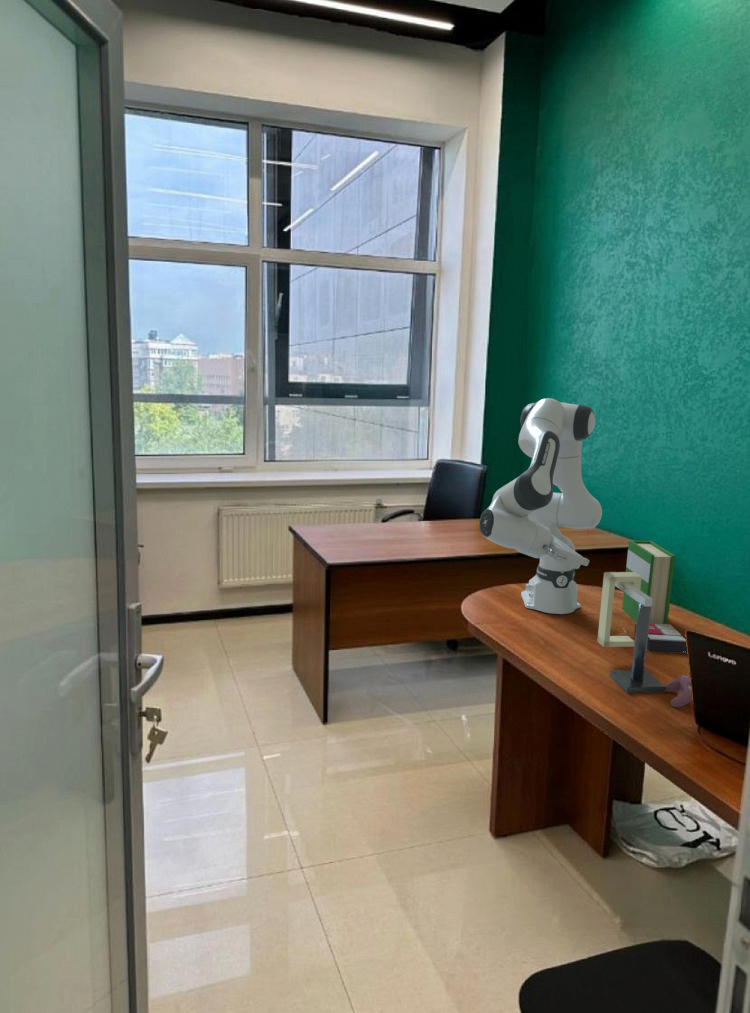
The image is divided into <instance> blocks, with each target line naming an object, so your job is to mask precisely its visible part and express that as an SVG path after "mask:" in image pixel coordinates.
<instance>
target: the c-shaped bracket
mask: <svg viewBox="0 0 750 1013" xmlns="http://www.w3.org/2000/svg"><path fill="white" fill-rule="evenodd" d="M641 578H642V576H640V575H638V574H637V573H635V572H626V571H617V572H616V571H605V572H603V580H602V590H601V591H602V592H601V598H600V599H601V600H600V602H601V603H600V609H599V622H598V631H597V643H599V644H600V646H602V647H603V648H619V647H620V648H625V647H626V648H628V647H633V648H634V643H635V639H633V638H631V637H630V636H629V635H611V629H612V617H613V609H614V599H615V588H616V586H615V582H628V583H630V584H631V585H633V586H634V587H636V588H637V589H639V590H640V587H641Z"/></svg>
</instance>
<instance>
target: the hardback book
mask: <svg viewBox="0 0 750 1013" xmlns="http://www.w3.org/2000/svg"><path fill="white" fill-rule="evenodd" d="M627 547H628V548H627V558H626V565H625V566H626V567H625V568H626V569H625V572H635V573H637V574H638V575H640V576H642V578H641V587H640V591H642V592H643V593H645V594H646V595H648V596H649V597H651V598H652V599H653V601H652V606H651V614H650V623H652V624H654V625H655V624H668V621H669V612H670V606H671V605H670V603H671V596H672V586H673V579H674V572H675V563H676V562H675V561H676V555H675V554H673V553H672V552H671V551H669V550H667V549H665V548H663V547H662V546H660V545H659V544H657V543H656V542H654V541H652V540H628V546H627ZM638 606H639V602H637V601H636V600H634V599H633V598H632V597H630V596H629V595H627V594H626V593H625V592H623V596H622V605H621V610H622V609H623V610H624V611H625V612H626V613H627V614H628V615H629V616H630V617H631V618H630V617H629V618H630V619H632V620H633V621H634V622H635V624H637V616H638ZM623 610H622V611H623ZM624 611H623V612H624ZM625 612H624V613H625ZM626 613H625V614H626ZM627 614H626V615H627ZM628 615H627V616H628Z"/></svg>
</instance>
